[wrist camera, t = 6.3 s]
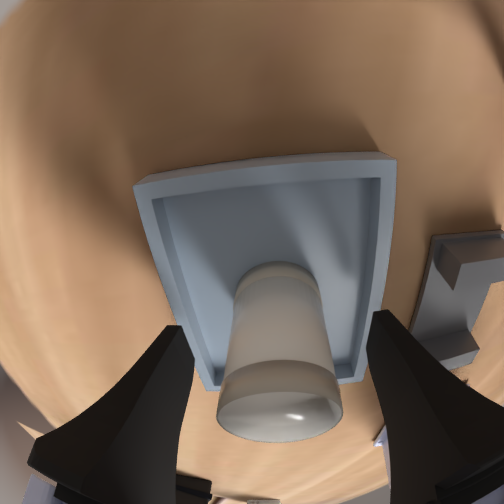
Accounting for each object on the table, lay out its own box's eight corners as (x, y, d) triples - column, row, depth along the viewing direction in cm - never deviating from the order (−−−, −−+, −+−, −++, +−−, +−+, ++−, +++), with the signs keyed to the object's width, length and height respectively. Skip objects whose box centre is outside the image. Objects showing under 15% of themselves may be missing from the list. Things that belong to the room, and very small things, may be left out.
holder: (462, 340, 14) (474, 363, 13) (399, 355, 15) (409, 383, 13) (502, 229, 10) (525, 250, 8) (432, 235, 11) (455, 260, 9)
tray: (357, 361, 15) (362, 381, 14) (209, 371, 16) (206, 390, 15) (380, 151, 9) (396, 159, 8) (148, 174, 10) (132, 186, 9)
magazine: (227, 494, 34) (180, 552, 21) (163, 454, 38) (112, 506, 25) (231, 491, 32) (180, 554, 20) (163, 449, 36) (107, 504, 24)
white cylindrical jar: (319, 322, 13) (336, 437, 8) (242, 329, 13) (230, 443, 8) (319, 256, 11) (350, 383, 6) (228, 265, 12) (201, 392, 6)
